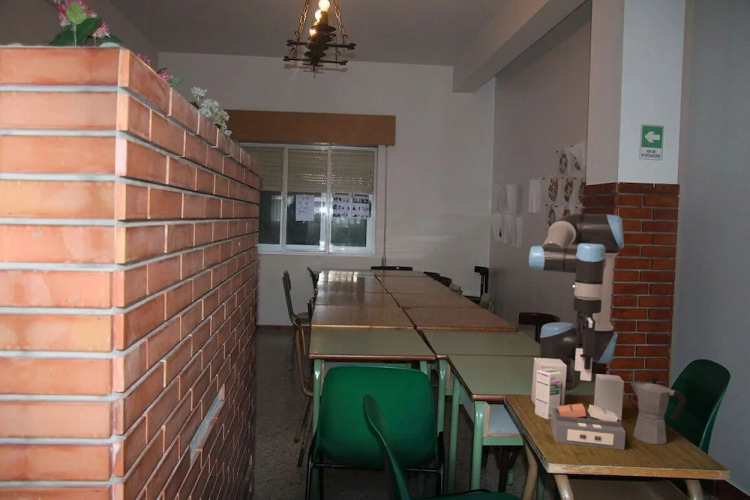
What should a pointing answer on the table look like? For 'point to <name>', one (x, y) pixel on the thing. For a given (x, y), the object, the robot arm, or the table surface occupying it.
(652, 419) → the coffeepot
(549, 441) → the table surface
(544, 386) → the syrup box
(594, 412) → the rocker
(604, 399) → the supplement box
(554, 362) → the supplement box
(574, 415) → the rocker
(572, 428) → the console
